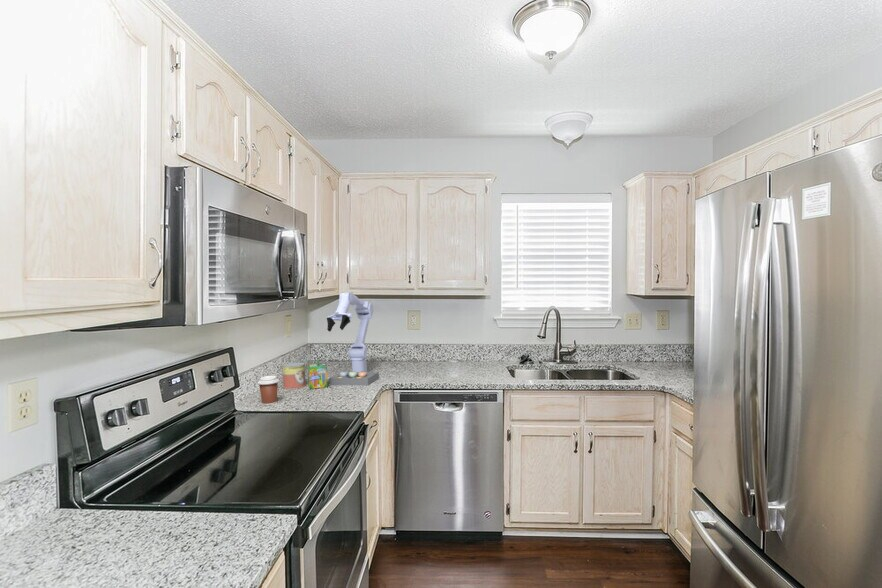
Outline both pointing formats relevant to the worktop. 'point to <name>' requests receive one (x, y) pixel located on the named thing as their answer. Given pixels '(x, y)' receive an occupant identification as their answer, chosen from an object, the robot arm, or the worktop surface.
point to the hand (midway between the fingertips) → (335, 329)
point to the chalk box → (317, 375)
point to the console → (354, 379)
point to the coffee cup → (268, 389)
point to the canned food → (294, 375)
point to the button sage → (352, 374)
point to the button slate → (343, 374)
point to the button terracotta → (362, 374)
